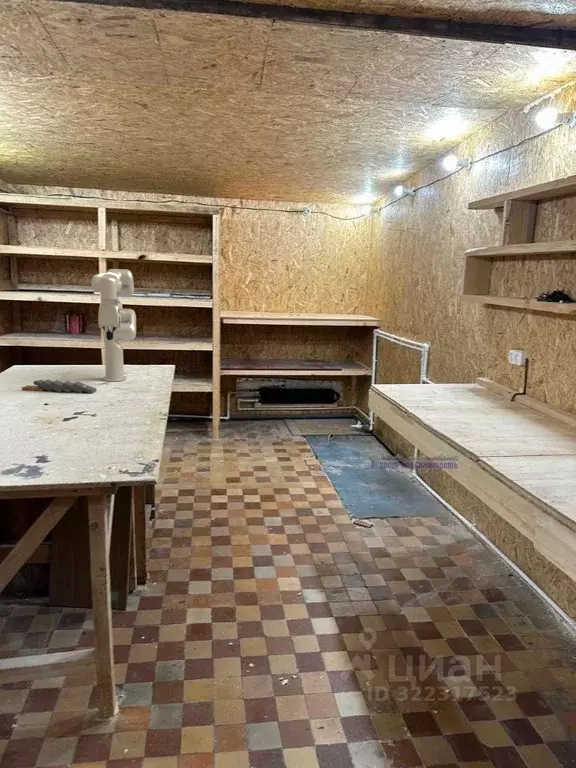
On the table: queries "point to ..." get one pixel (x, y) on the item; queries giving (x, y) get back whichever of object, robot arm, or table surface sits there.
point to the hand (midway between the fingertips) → (110, 339)
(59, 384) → the domino
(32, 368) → the table surface
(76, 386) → the domino
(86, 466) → the table surface
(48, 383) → the domino
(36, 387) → the domino
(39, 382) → the domino
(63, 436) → the table surface
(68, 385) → the domino
